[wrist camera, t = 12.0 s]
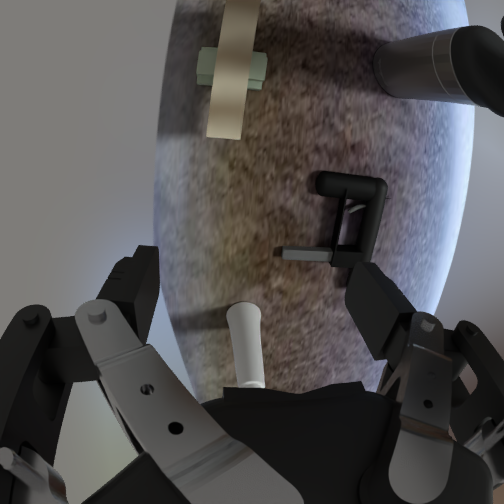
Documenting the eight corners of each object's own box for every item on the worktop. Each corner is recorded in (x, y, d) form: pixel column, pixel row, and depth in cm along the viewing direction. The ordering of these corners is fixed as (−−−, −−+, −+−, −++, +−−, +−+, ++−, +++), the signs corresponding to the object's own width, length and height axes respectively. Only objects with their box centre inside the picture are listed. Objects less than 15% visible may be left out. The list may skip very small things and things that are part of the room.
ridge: (203, 50, 31) (200, 43, 27) (263, 56, 32) (268, 50, 28) (198, 84, 33) (194, 81, 29) (259, 90, 34) (263, 88, 30)
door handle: (278, 293, 47) (368, 295, 48) (294, 168, 38) (398, 182, 39) (276, 282, 50) (362, 284, 51) (291, 164, 41) (389, 177, 42)
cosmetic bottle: (257, 298, 49) (277, 409, 30) (263, 324, 52) (282, 430, 33) (222, 305, 49) (226, 417, 30) (230, 330, 52) (237, 437, 33)
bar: (228, -2, 24) (229, -16, 20) (257, 1, 25) (262, -12, 21) (208, 133, 32) (206, 136, 28) (238, 136, 33) (240, 139, 29)
